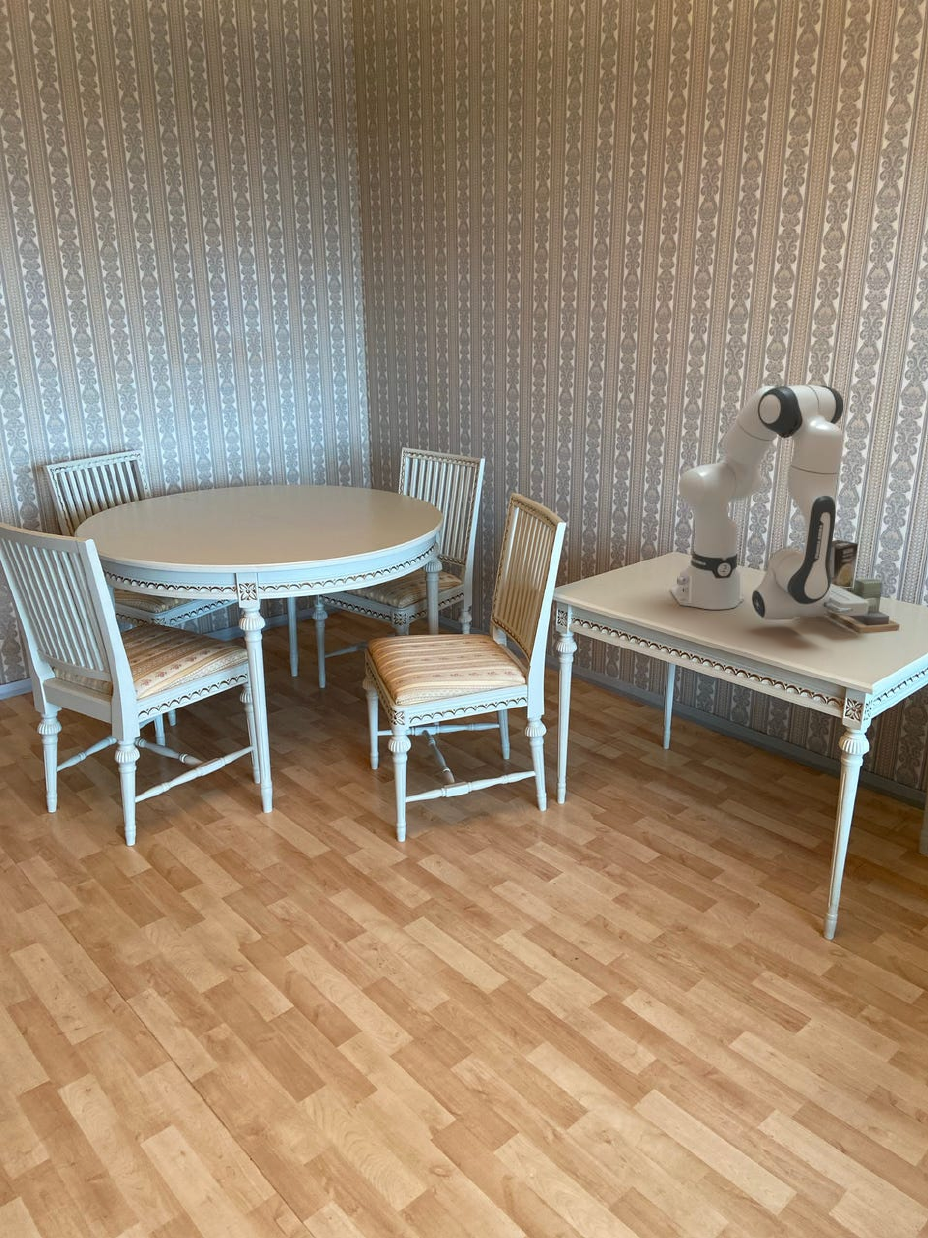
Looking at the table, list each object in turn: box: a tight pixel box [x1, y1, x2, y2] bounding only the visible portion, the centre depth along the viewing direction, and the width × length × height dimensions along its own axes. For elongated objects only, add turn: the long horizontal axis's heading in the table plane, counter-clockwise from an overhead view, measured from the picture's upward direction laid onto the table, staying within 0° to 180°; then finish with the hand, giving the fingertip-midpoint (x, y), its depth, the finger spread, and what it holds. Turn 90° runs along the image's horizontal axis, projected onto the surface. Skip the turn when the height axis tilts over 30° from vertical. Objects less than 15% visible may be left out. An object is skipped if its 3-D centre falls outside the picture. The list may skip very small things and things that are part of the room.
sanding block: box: [850, 577, 890, 626], centre depth 253 cm, size 12×6×10 cm, turn 12°
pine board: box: [824, 610, 901, 634], centre depth 258 cm, size 21×11×2 cm, turn 12°
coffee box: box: [830, 539, 859, 588], centre depth 272 cm, size 9×6×16 cm
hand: (863, 595), depth 252 cm, fingers open, 8 cm apart
